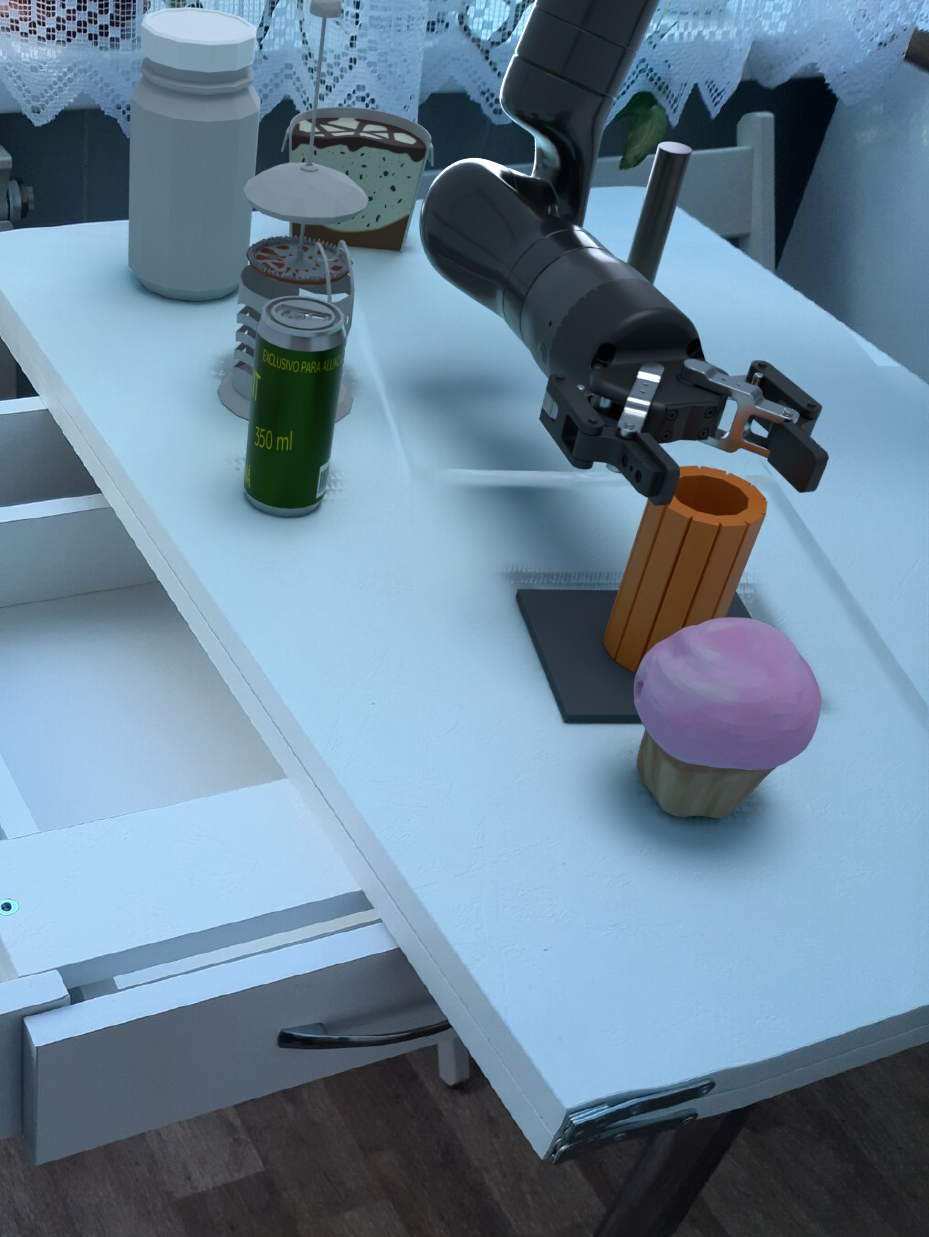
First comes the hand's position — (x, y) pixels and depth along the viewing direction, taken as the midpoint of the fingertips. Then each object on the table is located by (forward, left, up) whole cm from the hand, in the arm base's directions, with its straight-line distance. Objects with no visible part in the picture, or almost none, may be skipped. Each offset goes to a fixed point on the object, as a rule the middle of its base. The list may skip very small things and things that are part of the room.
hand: (744, 483), depth 71 cm
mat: (0, -2, -12) cm, 13 cm away
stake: (-9, -41, -12) cm, 44 cm away
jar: (+24, -52, -13) cm, 59 cm away
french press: (+18, -32, -13) cm, 39 cm away
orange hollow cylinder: (+1, -2, -12) cm, 12 cm away
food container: (+10, -60, -13) cm, 62 cm away
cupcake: (+2, +10, -13) cm, 16 cm away
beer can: (+20, -19, -13) cm, 31 cm away
